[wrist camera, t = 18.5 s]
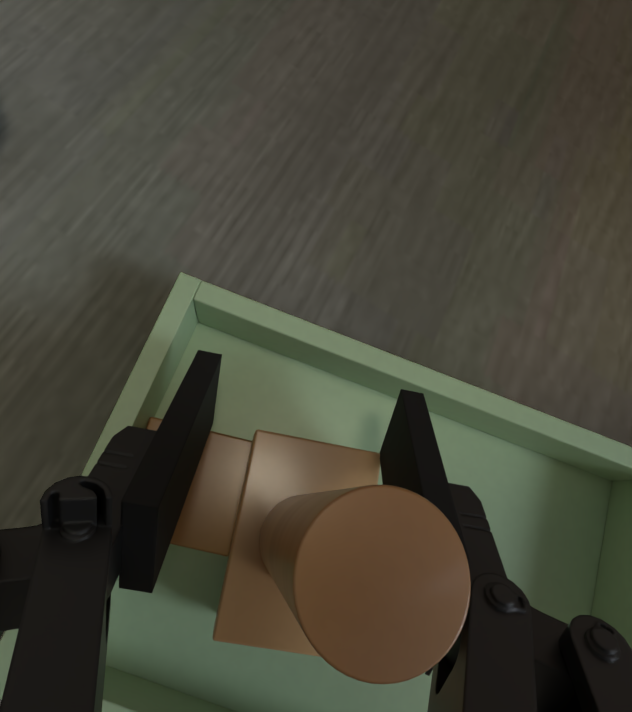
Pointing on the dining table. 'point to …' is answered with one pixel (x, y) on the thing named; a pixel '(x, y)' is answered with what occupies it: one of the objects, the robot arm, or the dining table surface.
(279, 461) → the cylinder on block base
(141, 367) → the tray
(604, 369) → the dining table surface
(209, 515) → the flat brown square tile
